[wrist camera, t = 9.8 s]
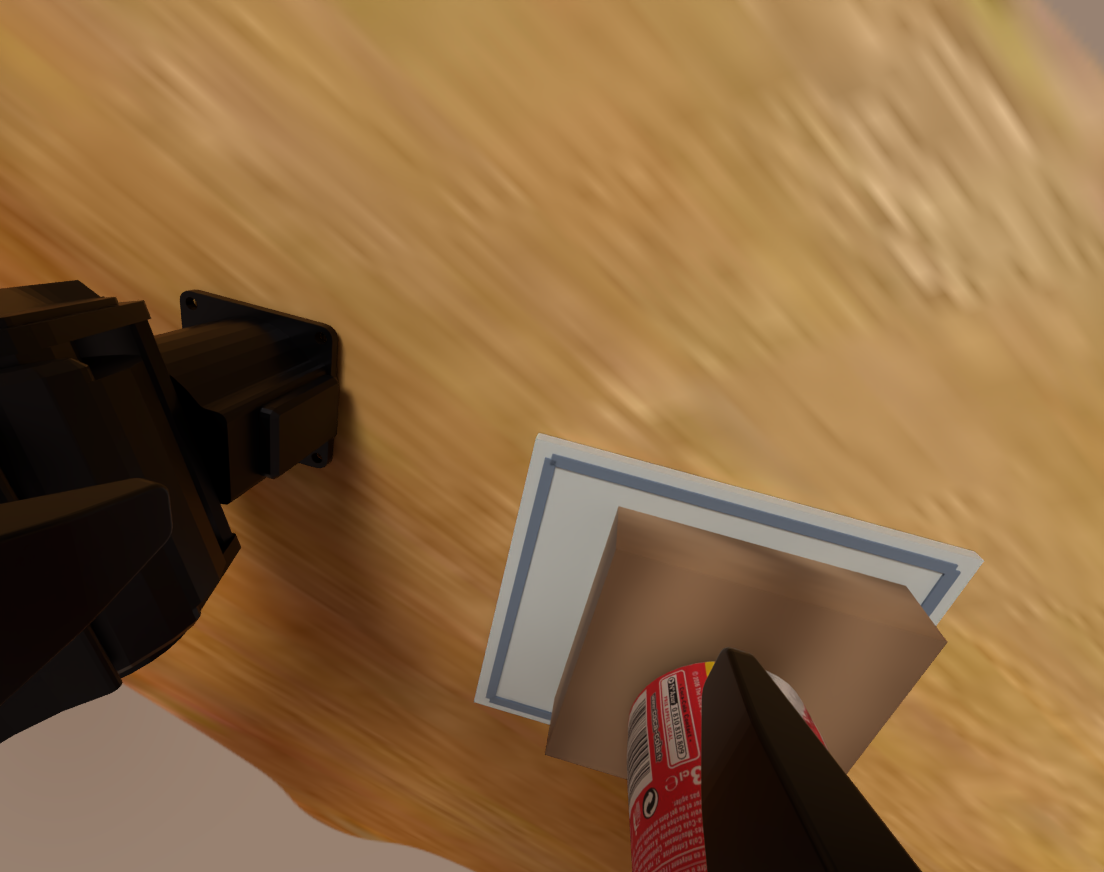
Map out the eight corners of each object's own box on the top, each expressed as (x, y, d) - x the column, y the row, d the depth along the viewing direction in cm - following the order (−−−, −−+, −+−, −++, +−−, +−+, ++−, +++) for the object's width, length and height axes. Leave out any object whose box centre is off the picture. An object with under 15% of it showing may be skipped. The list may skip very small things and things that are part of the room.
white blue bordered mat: (476, 692, 28) (473, 703, 27) (538, 432, 21) (535, 439, 20) (802, 789, 27) (806, 803, 26) (974, 551, 20) (985, 562, 19)
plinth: (554, 698, 26) (544, 754, 23) (618, 506, 21) (616, 549, 18) (784, 766, 26) (802, 832, 23) (906, 585, 21) (947, 642, 18)
